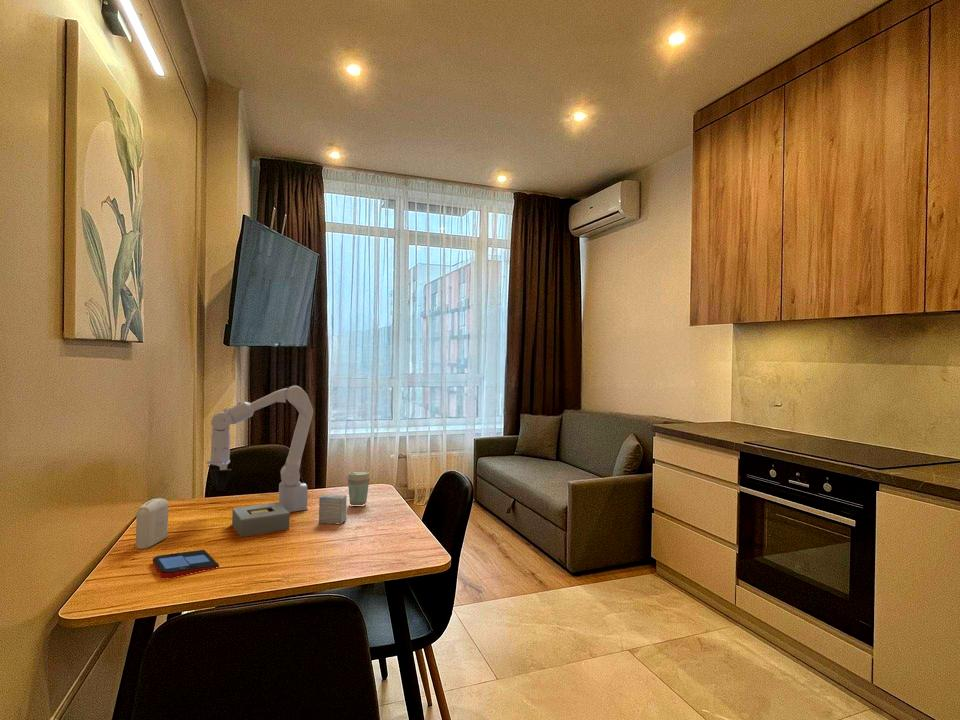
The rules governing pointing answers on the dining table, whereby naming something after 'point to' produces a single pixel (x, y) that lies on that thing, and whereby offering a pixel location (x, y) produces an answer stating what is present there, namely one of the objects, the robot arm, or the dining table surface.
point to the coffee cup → (358, 487)
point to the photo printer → (151, 523)
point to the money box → (260, 519)
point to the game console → (183, 563)
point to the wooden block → (259, 511)
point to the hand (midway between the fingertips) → (219, 487)
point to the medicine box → (332, 508)
